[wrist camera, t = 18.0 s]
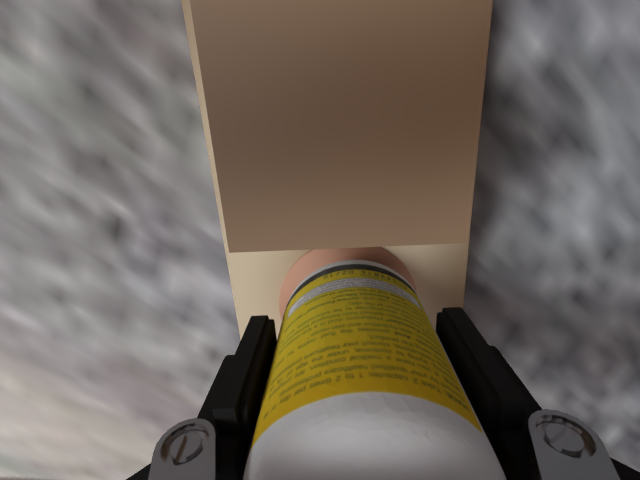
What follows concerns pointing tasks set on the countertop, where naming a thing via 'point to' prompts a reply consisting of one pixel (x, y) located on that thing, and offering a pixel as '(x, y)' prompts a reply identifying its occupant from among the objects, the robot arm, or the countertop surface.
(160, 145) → the countertop surface
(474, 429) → the supplement bottle
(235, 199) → the walnut block
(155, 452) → the robot arm
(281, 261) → the board
